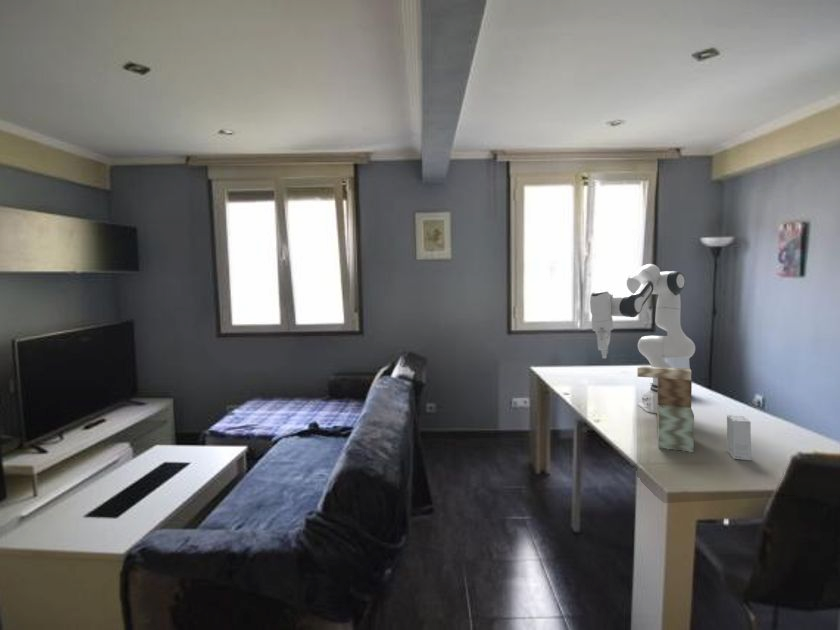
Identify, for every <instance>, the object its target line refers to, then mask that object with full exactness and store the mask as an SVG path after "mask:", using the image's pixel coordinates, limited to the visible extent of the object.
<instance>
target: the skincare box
mask: <svg viewBox="0 0 840 630" xmlns="http://www.w3.org/2000/svg"><path fill="white" fill-rule="evenodd" d="M751 424H752V423H751V421H750V420H749V419H748V418H746V417H745V416H744V415H726V435H727V437H726V438H727V439H726V443H727V445H726V449H727V453H728V454H729V455H730V457H731V458H732V459H733V460H742V461H748V462H749V461H751V460H752V439H751V437H752V436H751V435H752V433H751V428H752V427H751Z"/></svg>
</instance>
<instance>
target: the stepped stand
mask: <svg viewBox="0 0 840 630" xmlns="http://www.w3.org/2000/svg"><path fill="white" fill-rule="evenodd" d="M692 387H693V385H692V379H691V380H680V379H665V378H658V392H657V415H656V436H657V445H658V446H657V447H658V448H659V447H660V448H659V449H662V448H667V449H666V450H669V449H675V450H674V451H677V450H682V451H681V452H685V451H689V452H688V453H692V452H693V453H694V446H695V445H694V441H695V440H694V439H695V438H694V437H695V436H694V435H695V431H694V429H695V413H694V411H693V409H692V389H693V388H692Z"/></svg>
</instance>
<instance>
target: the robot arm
mask: <svg viewBox="0 0 840 630" xmlns="http://www.w3.org/2000/svg"><path fill="white" fill-rule="evenodd" d="M685 285H686V279H685V275H683V273H682V272H681V271H677V270H676V271H675V270H671V271H661V270H660V268H659V267H658V266H657V265H656V264H653V263H647V264H645V265H642V266H640V267H639V268H637V269H636V270H634V271H633V272H632V273H631V274H630V275H629V276H628V277H627V280H626V286H627V289H628V291H629V292H630V293H632V294H627V295H626V294H625V295H624V294H623V295H622V294H621V295H619V294H618V295H614V294H611V293H609V291H608V290H607V289H600V290H595V291H593V292H592V293H591V295H590V298H589V306H590V307H589V309H590V314H591V327H592V329H591V330H592V332H595V335H596V339H597V340H596V341H597V349H598V351H600V352H601V358H602V359H607V357H608V356H607V355H608V354H609V345H610V342H611V333H612V332H611V331H612V330H614V322H613V320H614V319H613V317H627V318H635V317H637V316H639V314H640V313H641V312H642V310H643V306H644V305H645V303H646V302H647V301H648V300H649V298H650V297H651V296H652V295H658V297H657V300H656V307H655V315H654V316H655V318H654V323H655V325H656V326H657V327H658V328H659V329H661V330H663V331H666V333H667V335H645V336H641V338H639V340H638V342H637V350H638V351H639V353H640V354H641V355H642V356H643V357H645V358H646V359H647V361H648V362H649V364H650V367H664V368H674V367H673V366H671V365H670V364H668V363H667V362H666V361H665V359H664V358H675V359H685V358H689V359H690V358H692V357H693V356H694V354H695V352H696V345H695V343H694V341H693V340H692V339H691V338H690V337H688V336H687V335H686V333H684V331H683V329H682V325H681V309H682V308H681V307H682V306H681V304H682V303H681V302H682V301H681V292H682V291H683V290H684V287H685ZM649 384H650V389H648V391H646V392H645V393H644V394H643V395H642V398H641V400H642V401H639V402H637V403H636V404H637V406H639V407H640V408H641V409H642V410H643V411H645V412H646V413H651V414H657V392H658V378H652V382H651V383H649Z"/></svg>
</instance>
